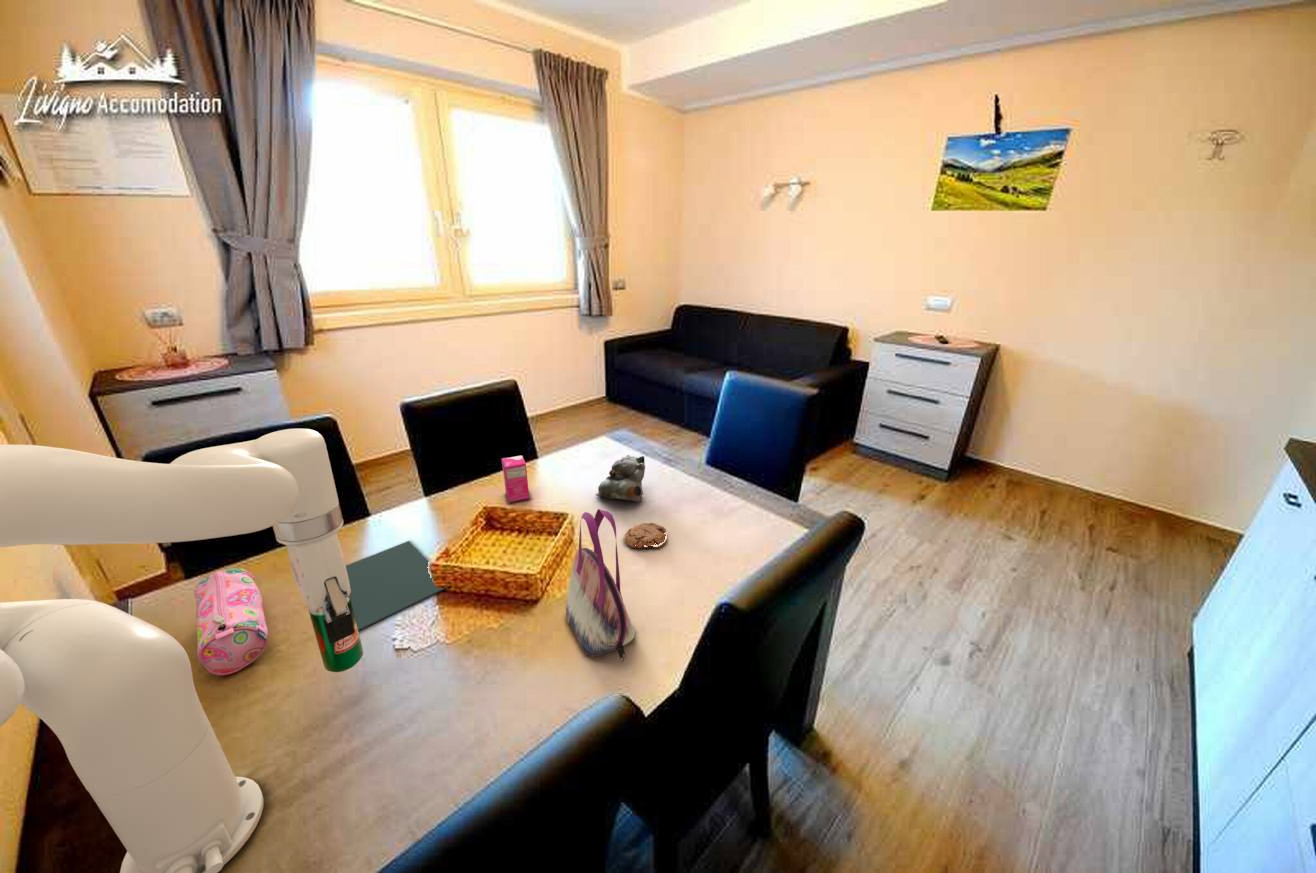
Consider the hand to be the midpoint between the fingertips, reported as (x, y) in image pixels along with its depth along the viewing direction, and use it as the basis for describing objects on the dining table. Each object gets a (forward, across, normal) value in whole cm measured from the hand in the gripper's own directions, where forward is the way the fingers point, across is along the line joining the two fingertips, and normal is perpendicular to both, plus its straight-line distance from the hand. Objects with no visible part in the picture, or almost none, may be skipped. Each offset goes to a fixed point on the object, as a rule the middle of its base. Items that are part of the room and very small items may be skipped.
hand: (335, 625), depth 71 cm
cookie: (+13, +3, +64) cm, 65 cm away
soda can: (+7, 0, 0) cm, 7 cm away
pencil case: (+14, -28, -10) cm, 33 cm away
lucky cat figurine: (+13, -17, +74) cm, 77 cm away
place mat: (+14, -25, +14) cm, 32 cm away
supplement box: (+13, -37, +53) cm, 66 cm away
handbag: (+14, +17, +37) cm, 43 cm away
